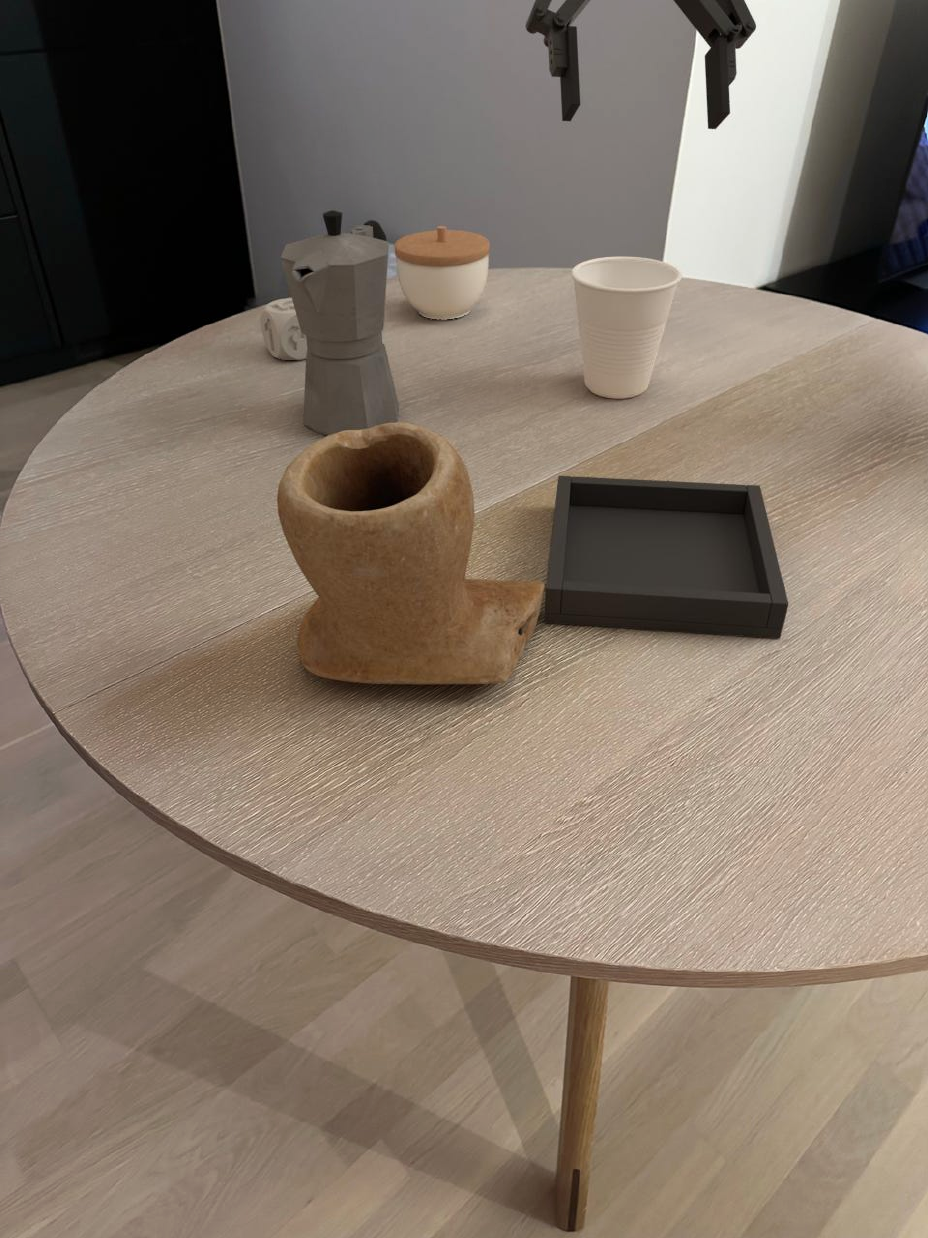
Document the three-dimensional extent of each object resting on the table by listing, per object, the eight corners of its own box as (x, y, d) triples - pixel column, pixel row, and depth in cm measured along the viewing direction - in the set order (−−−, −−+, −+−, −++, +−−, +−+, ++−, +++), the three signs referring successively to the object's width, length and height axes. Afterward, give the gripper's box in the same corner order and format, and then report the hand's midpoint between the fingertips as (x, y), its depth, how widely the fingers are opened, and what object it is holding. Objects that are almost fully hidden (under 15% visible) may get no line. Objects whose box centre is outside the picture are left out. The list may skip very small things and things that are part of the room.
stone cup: (275, 715, 54) (231, 489, 45) (322, 596, 63) (294, 389, 54) (535, 733, 53) (544, 503, 43) (544, 608, 62) (553, 397, 53)
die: (264, 350, 100) (257, 303, 97) (306, 340, 102) (300, 294, 99) (283, 364, 96) (276, 317, 93) (326, 354, 99) (321, 307, 96)
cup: (552, 400, 88) (557, 282, 82) (580, 362, 96) (587, 251, 89) (655, 415, 85) (669, 294, 79) (676, 374, 93) (691, 261, 86)
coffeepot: (367, 455, 80) (347, 237, 69) (271, 439, 83) (238, 227, 72) (434, 386, 91) (427, 190, 80) (349, 374, 94) (330, 182, 83)
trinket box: (379, 316, 108) (373, 231, 102) (434, 290, 115) (431, 210, 109) (455, 334, 103) (453, 245, 97) (507, 306, 110) (508, 222, 104)
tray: (753, 517, 71) (760, 485, 69) (780, 639, 59) (788, 603, 57) (556, 506, 73) (558, 475, 71) (544, 623, 61) (545, 588, 59)
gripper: (746, -85, 86) (756, 145, 87) (484, -112, 81) (496, 131, 82) (789, -150, 79) (800, 101, 79) (504, -184, 74) (517, 83, 74)
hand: (646, 117), depth 80 cm, fingers open, 13 cm apart
